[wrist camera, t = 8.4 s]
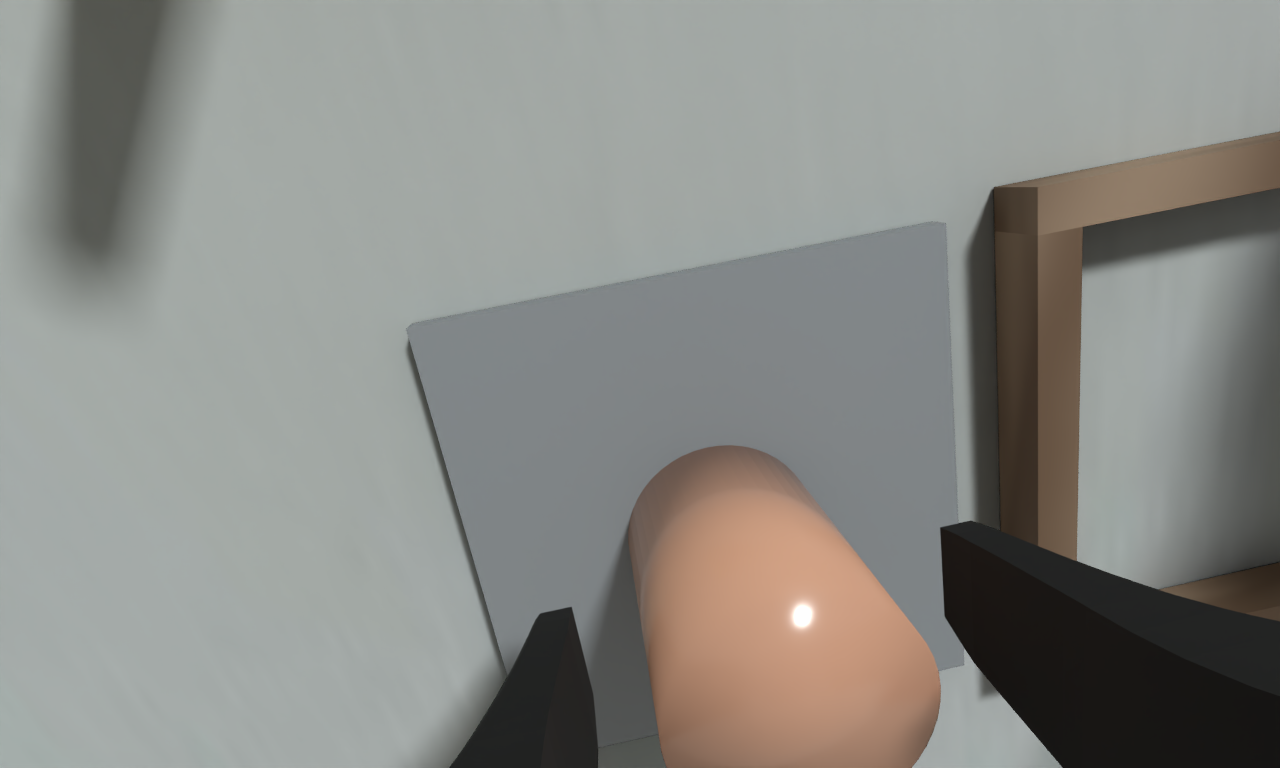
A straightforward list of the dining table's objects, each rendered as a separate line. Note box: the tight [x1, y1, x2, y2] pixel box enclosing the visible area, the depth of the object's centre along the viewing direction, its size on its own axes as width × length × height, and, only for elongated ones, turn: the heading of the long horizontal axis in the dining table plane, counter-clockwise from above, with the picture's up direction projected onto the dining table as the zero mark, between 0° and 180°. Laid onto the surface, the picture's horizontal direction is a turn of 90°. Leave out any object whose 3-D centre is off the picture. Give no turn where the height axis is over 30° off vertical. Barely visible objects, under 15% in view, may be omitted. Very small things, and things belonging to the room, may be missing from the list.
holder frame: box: [994, 132, 1280, 621], centre depth 17 cm, size 13×13×2 cm
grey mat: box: [406, 222, 964, 748], centre depth 17 cm, size 12×12×1 cm
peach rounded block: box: [628, 445, 941, 768], centre depth 14 cm, size 6×5×6 cm
